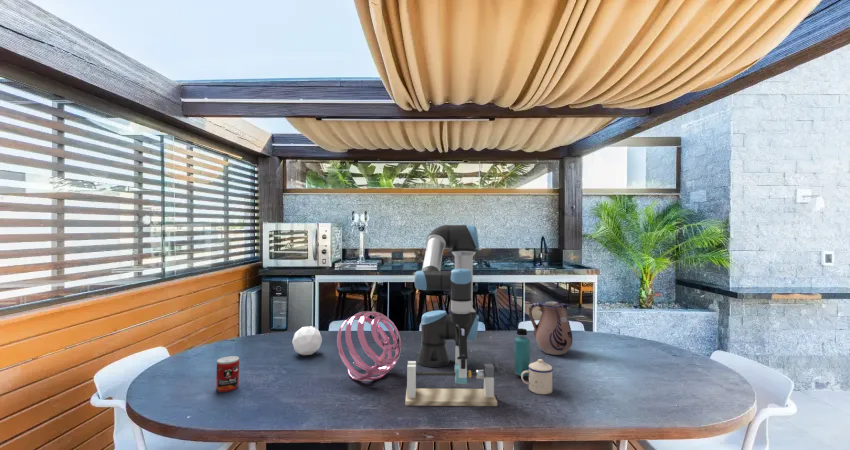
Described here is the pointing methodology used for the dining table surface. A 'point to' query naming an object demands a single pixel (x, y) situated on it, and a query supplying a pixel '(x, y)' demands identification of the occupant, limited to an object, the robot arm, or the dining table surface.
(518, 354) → the beverage bottle
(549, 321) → the ceramic pitcher
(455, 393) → the cord jig
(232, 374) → the canned food
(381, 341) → the spiral basket
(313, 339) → the geodesic sphere
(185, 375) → the dining table surface
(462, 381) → the sleeve
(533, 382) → the teacup with lid
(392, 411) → the dining table surface
